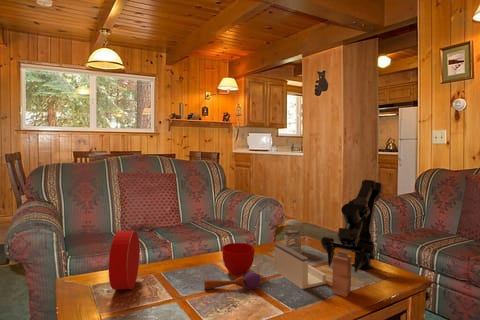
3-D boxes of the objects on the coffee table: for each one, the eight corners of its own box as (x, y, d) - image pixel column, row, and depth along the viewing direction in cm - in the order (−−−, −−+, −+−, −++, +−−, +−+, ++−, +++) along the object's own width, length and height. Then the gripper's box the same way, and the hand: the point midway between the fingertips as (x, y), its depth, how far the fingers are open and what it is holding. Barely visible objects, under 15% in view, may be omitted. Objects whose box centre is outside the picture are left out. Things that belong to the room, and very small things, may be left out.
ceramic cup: (252, 262, 147) (252, 240, 146) (255, 278, 130) (255, 253, 129) (222, 262, 146) (222, 239, 146) (221, 278, 129) (221, 253, 129)
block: (336, 287, 123) (337, 248, 122) (350, 291, 120) (351, 251, 119) (331, 293, 119) (333, 252, 118) (346, 296, 116) (347, 255, 115)
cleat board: (296, 266, 143) (297, 240, 143) (325, 283, 126) (326, 254, 126) (274, 270, 139) (274, 243, 138) (301, 289, 122) (302, 259, 121)
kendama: (204, 274, 124) (258, 269, 125) (205, 291, 123) (260, 286, 124) (203, 278, 118) (260, 273, 119) (204, 296, 117) (262, 290, 118)
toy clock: (124, 275, 131) (123, 224, 130) (139, 275, 132) (139, 224, 130) (108, 300, 111) (108, 240, 110) (127, 299, 112) (126, 240, 110)
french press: (281, 247, 168) (282, 197, 167) (305, 248, 167) (306, 198, 165) (282, 253, 158) (283, 201, 157) (307, 255, 157) (308, 201, 156)
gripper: (323, 215, 127) (311, 251, 119) (375, 223, 117) (365, 263, 109) (329, 231, 134) (318, 266, 126) (379, 240, 124) (370, 279, 115)
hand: (341, 268), depth 119 cm, fingers open, 9 cm apart
